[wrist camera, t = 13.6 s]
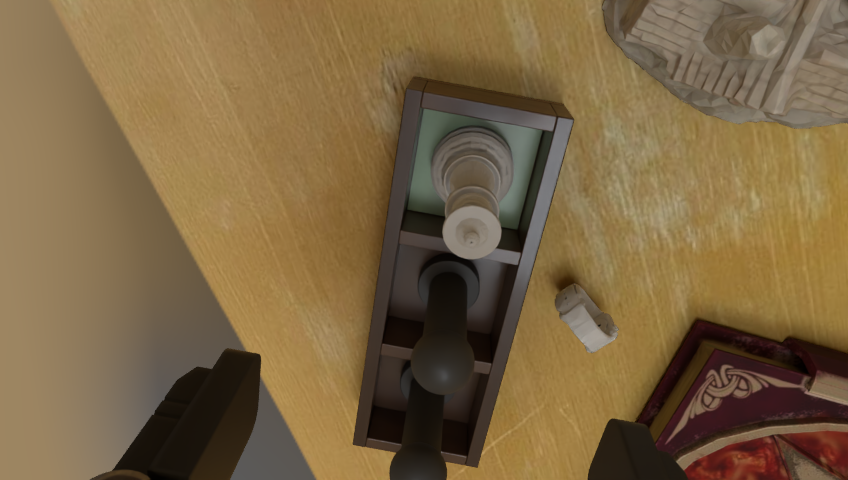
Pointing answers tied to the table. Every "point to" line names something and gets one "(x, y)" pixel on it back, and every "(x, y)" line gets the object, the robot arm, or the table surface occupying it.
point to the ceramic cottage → (742, 55)
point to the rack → (422, 240)
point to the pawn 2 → (420, 433)
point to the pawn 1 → (445, 324)
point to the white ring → (585, 318)
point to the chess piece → (472, 188)
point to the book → (752, 408)
